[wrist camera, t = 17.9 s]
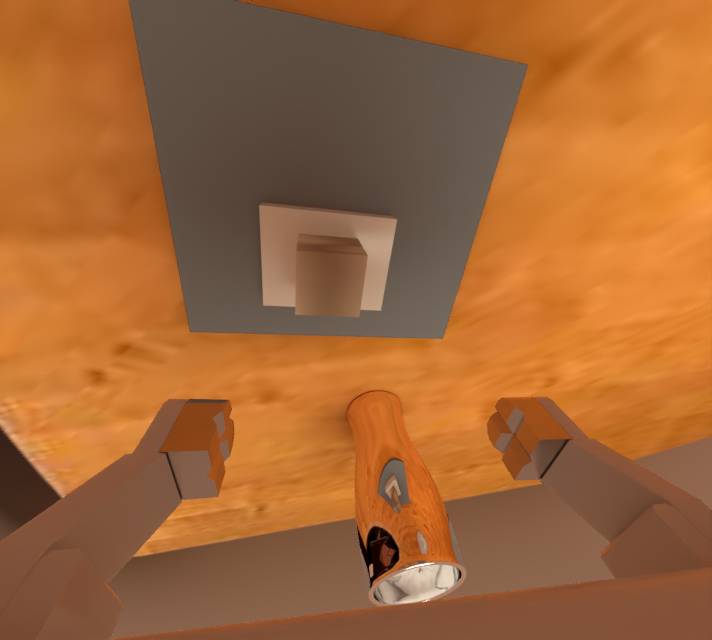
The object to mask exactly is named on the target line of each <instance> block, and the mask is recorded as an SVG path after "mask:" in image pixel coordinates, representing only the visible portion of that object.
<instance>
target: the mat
mask: <svg viewBox="0 0 712 640" xmlns="http://www.w3.org/2000/svg"><path fill="white" fill-rule="evenodd" d="M129 4H130V9H131V15H132V20H133V26H134V31H135V36H136V42H137V47H138V53H139V58H140V63H141V69H142V74H143V80H144V85H145V91H146V96H147V101H148V107H149V112H150V118H151V123H152V128H153V134H154V139H155V145H156V150H157V155H158V161H159V166H160V172H161V177H162V183H163V188H164V193H165V199H166V204H167V210H168V215H169V220H170V226H171V231H172V237H173V242H174V248H175V253H176V258H177V264H178V269H179V275H180V280H181V285H182V291H183V296H184V302H185V307H186V312H187V318H188V323H189V329H190V332H212V333H248V334H285V335H321V336H357V337H393V338H430V339H443V337H444V334H445V330H446V327H447V324H448V321H449V318H450V314H451V311H452V308H453V305H454V301H455V298H456V295H457V292H458V289H459V285H460V282H461V279H462V276H463V273H464V269H465V266H466V263H467V260H468V257H469V253H470V250H471V247H472V244H473V241H474V237H475V234H476V231H477V228H478V225H479V221H480V218H481V215H482V212H483V209H484V205H485V202H486V199H487V196H488V192H489V189H490V186H491V183H492V180H493V176H494V173H495V170H496V167H497V164H498V160H499V157H500V154H501V151H502V148H503V144H504V141H505V138H506V135H507V132H508V128H509V125H510V122H511V119H512V116H513V112H514V109H515V106H516V103H517V100H518V96H519V93H520V90H521V87H522V84H523V80H524V77H525V74H526V71H527V67H528V65H527V64H523V63H518V62H513V61H509V60H504V59H500V58H495V57H491V56H486V55H481V54H477V53H472V52H468V51H463V50H459V49H454V48H450V47H445V46H440V45H436V44H431V43H427V42H422V41H418V40H413V39H408V38H404V37H399V36H395V35H390V34H386V33H381V32H377V31H372V30H367V29H363V28H358V27H354V26H349V25H345V24H340V23H336V22H331V21H326V20H322V19H317V18H313V17H308V16H304V15H299V14H294V13H290V12H285V11H281V10H276V9H272V8H267V7H263V6H258V5H253V4H249V3H244V2H240V1H235V0H129ZM262 202H270V203H279V204H289V205H298V206H308V207H317V208H327V209H337V210H346V211H356V212H365V213H375V214H384V215H392V216H393V217H395V218H396V219H397V223H396V229H395V235H394V240H393V246H392V251H391V257H390V262H389V268H388V274H387V279H386V285H385V290H384V296H383V301H382V307H381V311H377V310H360V316H359V317H338V316H312V315H295V307H286V306H264V305H263V288H262V263H261V238H260V213H259V205H260V204H261V203H262Z"/></svg>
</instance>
